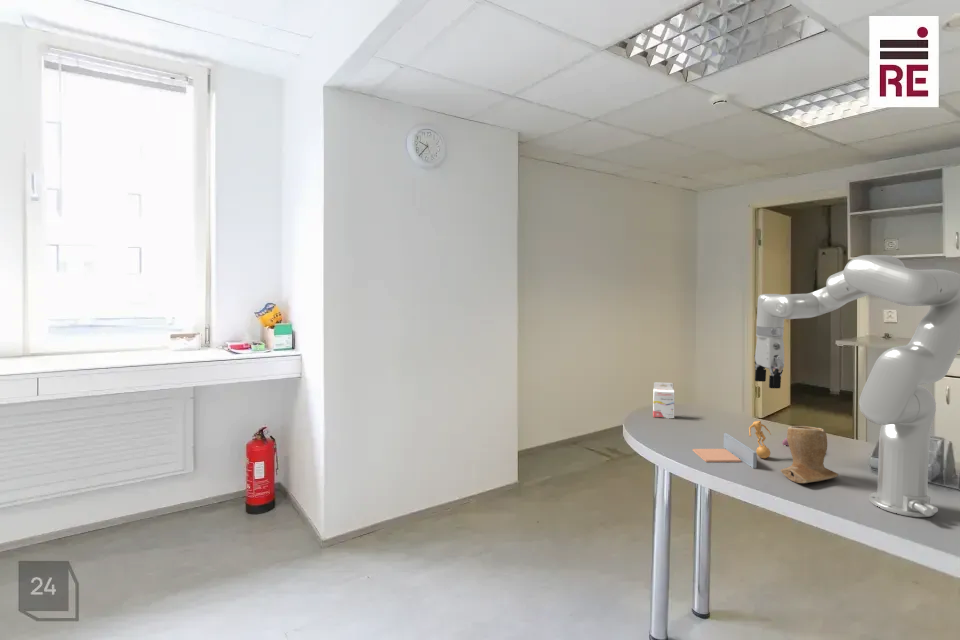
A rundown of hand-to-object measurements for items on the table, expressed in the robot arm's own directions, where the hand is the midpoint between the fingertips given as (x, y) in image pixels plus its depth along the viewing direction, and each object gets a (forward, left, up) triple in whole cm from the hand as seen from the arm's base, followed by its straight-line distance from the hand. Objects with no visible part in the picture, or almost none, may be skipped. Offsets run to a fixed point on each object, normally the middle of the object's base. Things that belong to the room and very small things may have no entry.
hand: (767, 384), depth 157 cm
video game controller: (+8, -14, -25) cm, 29 cm away
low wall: (+1, +8, -24) cm, 26 cm away
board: (+2, +15, -24) cm, 29 cm away
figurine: (+1, +1, -25) cm, 25 cm away
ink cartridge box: (+50, +16, -25) cm, 58 cm away
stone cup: (-16, -3, -25) cm, 30 cm away
